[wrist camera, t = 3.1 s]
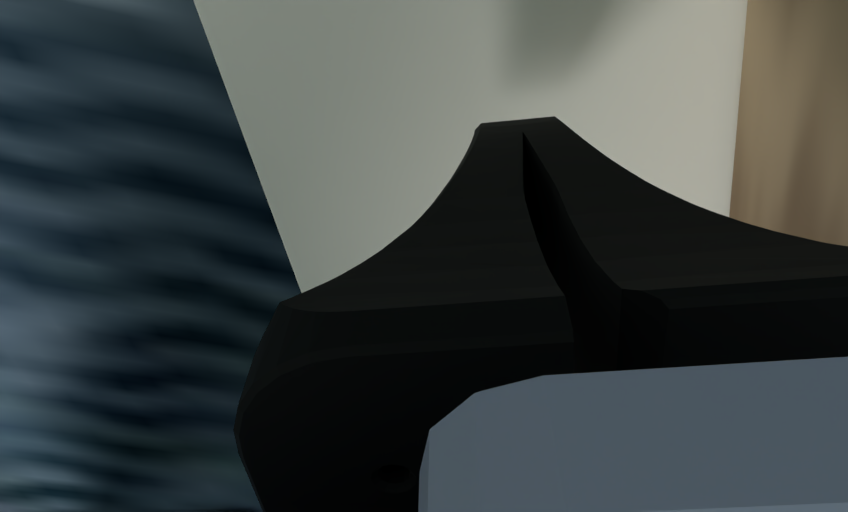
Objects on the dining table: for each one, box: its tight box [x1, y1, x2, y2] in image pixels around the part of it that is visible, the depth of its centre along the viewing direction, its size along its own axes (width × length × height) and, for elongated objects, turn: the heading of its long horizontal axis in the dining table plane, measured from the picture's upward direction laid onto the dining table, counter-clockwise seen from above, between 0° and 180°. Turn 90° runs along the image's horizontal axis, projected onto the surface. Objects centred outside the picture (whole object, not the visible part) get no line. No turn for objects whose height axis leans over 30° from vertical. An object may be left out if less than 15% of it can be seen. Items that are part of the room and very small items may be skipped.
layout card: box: [193, 0, 748, 293], centre depth 18 cm, size 26×24×1 cm
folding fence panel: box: [729, 0, 848, 246], centre depth 12 cm, size 10×1×5 cm, turn 10°
